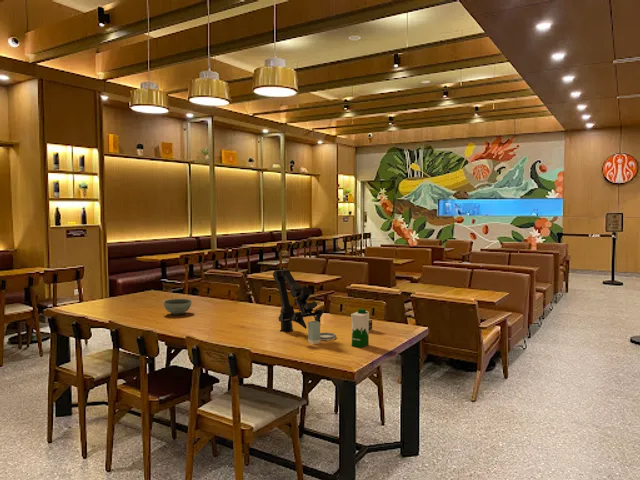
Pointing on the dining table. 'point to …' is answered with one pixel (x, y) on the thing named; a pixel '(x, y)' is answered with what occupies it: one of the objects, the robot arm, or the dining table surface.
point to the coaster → (327, 336)
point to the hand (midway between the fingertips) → (313, 327)
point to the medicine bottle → (369, 322)
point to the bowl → (177, 306)
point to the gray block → (314, 332)
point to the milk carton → (360, 328)
